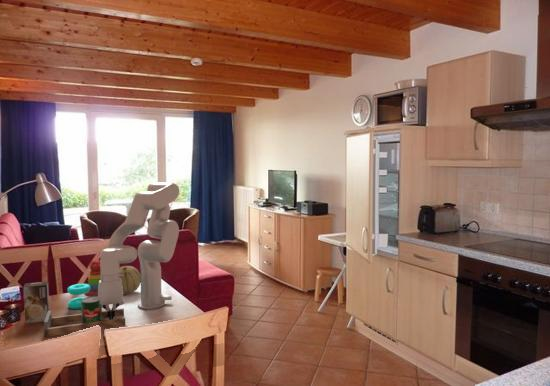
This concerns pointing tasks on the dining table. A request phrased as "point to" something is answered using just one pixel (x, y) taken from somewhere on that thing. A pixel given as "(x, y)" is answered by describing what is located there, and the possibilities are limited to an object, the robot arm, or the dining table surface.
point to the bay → (76, 327)
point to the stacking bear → (94, 278)
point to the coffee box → (36, 301)
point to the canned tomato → (91, 309)
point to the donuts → (77, 290)
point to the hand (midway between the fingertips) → (111, 319)
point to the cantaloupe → (130, 279)
